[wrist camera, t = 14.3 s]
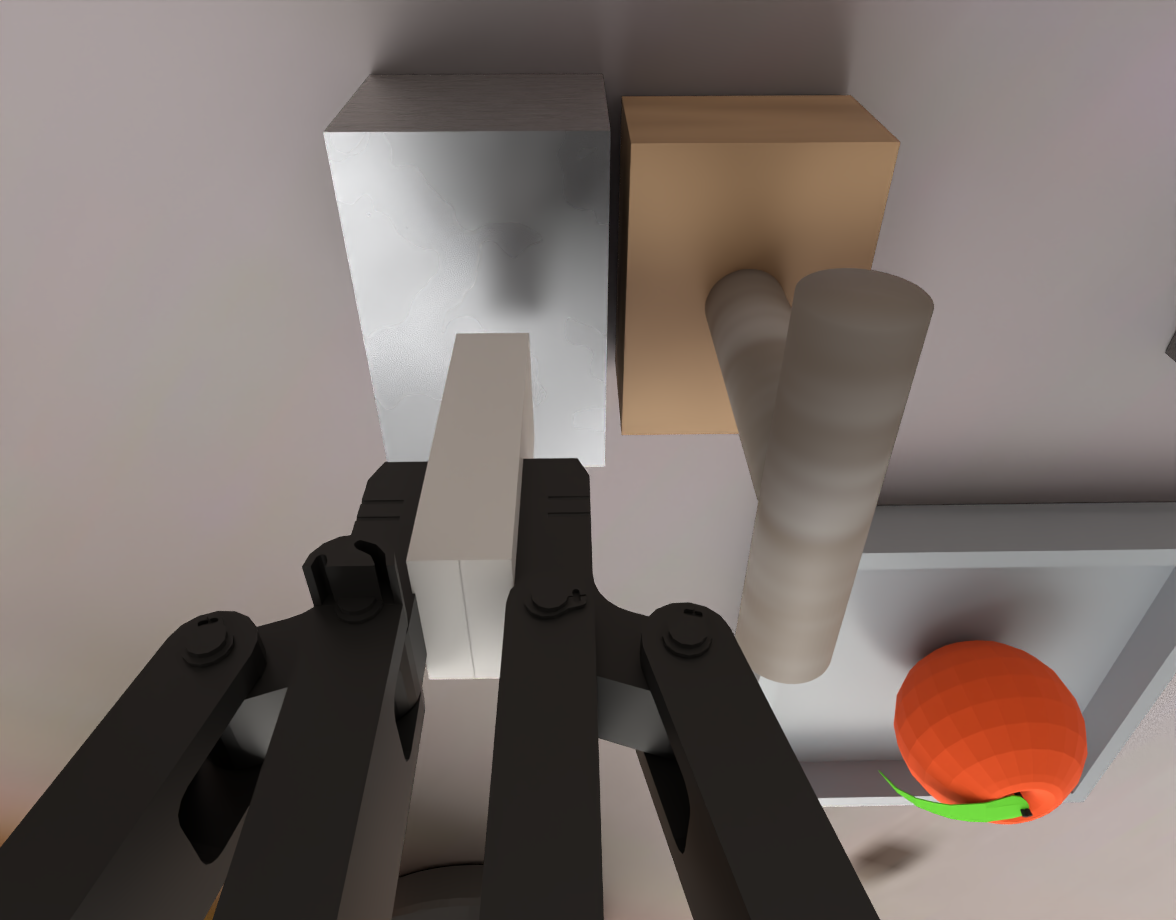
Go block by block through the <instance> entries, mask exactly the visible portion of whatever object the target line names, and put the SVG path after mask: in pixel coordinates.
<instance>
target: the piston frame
mask: <svg viewBox="0 0 1176 920" xmlns="http://www.w3.org/2000/svg"><path fill="white" fill-rule="evenodd" d="M323 134H324V139H325V144H326V149H327V154H328V159H329V164H330V170H331V175H332V180H333V185H334V190H335V195H336V201H337V206H338V211H339V216H340V221H341V226H342V232H343V237H344V242H345V247H346V252H347V257H348V263H349V268H350V273H351V278H352V283H353V288H354V294H355V299H356V304H357V309H358V314H359V319H360V325H361V330H362V335H363V340H364V345H365V350H366V355H367V361H368V366H369V371H370V376H371V381H372V386H373V392H374V397H375V402H376V407H377V412H378V417H379V423H380V428H381V433H382V438H383V443H384V448H385V454H386V459H387V462H424V461H428V460H429V455H430V451H431V446H432V442H433V437H434V433H435V428H436V424H437V419H438V415H439V410H440V406H441V401H442V397H443V392H444V388H445V383H446V379H447V374H448V369H449V365H450V360H451V356H452V351H453V347H454V342H455V338H456V334H461V333H529V341H530V361H531V381H532V401H533V420H534V456H533V458H578V459H579V461H580V462H581V464H582V465H583V467H605V427H606V368H607V310H608V251H609V193H610V134H611V130H610V123H609V116H608V109H607V102H606V95H605V88H604V80H603V74H433V75H369V76H368V77H367V79H366V80H365V81H364V82H363V84H362V85H361V86H360V87H359V89H358V90H357V91H356V92H355V93H354V95H353V96H352V97H351V98H350V100H349V101H348V102H347V103H346V105H345V106H344V107H343V108H342V110H341V111H340V112H339V113H338V115H337V116H336V117H335V118H334V120H333V121H332V122H331V123H330V124H329V126H328V127H327V128H326V129H325V131H324V132H323ZM1165 353H1166V354H1167V355H1168V356H1169V357H1170V358H1172V359H1173V360H1174V361H1175V362H1176V333H1175V335H1174V337H1173V339H1172V341H1171V343H1170V345H1169V347H1168V349H1167V351H1166V352H1165Z"/></svg>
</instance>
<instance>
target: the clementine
mask: <svg viewBox="0 0 1176 920" xmlns="http://www.w3.org/2000/svg"><path fill="white" fill-rule="evenodd" d="M894 730H895V735H896V739H897V744H898V747H899V750H900V752H901V755H902V757H903V759H904V761H905V763H906V765H907V766H908V768H909V770H910V772H911V774H912V776H913V777H914V778H915V779H916V780H917V781H918V782H919V783H920V784H921V785H922V786H923V787H924V789H925V790H926V791H927V792H928V793H929V794H930V795H932V796H933V797H934V798H935V799H936V800H937V801H939V802H941V803H939V802H933V801H929V800H924V799H920V798H916V797H914V796H912V795H910V794H908V793H906V792H904V791H902V790H900V789H898V788H897V787H896V786H895V785H894V784H893V783H892V782H891V781H890V780H889V779H888V778H887V777H886V776H885V775H884V774H883V773H882V772H881V771H880V770H878V771H879V772H880V773H881V775H882V776H883V777H884V778H885V779H886V780H887V782H888V783H889V784H890V785H891V786H892V787H893V789H894V790H895V791H896V792H897V793H898V794H900V795H901V796H903V797H904V798H906V799H907V800H908V801H910V802H911V803H913V804H914V805H916V806H917V807H920V808H922V809H925V810H927V811H930V812H932V813H935V814H938V815H941V816H944V817H947V818H950V819H956V820H962V821H969V822H990V823H996V824H1017V823H1023V822H1027V821H1032V820H1034V819H1037V818H1040V817H1042V816H1044V815H1046V814H1048V813H1050V812H1051V811H1053V810H1054V809H1055V808H1057V807H1058V806H1059V805H1060V804H1061V803H1062V802H1063V801H1064V800H1065V799H1066V797H1067V796H1068V795H1069V794H1070V793H1071V791H1072V790H1073V789H1074V788H1075V787H1076V785H1077V784H1078V783H1079V780H1080V777H1081V775H1082V771H1083V768H1084V765H1085V761H1086V758H1087V754H1088V753H1087V738H1086V728H1085V721H1084V718H1083V716H1082V713H1081V711H1080V708H1079V706H1078V703H1077V701H1076V699H1075V697H1074V696H1073V695H1072V693H1071V692H1070V691H1069V690H1068V688H1067V687H1066V686H1065V684H1064V683H1063V682H1062V681H1061V679H1060V678H1059V677H1058V676H1057V674H1056V673H1055V672H1054V671H1053V670H1052V669H1051V668H1049V667H1048V666H1047V665H1045V664H1044V663H1042V662H1041V661H1040V660H1038V659H1037V658H1036V657H1034V656H1032V655H1030V654H1029V653H1027V652H1025V651H1023V650H1021V649H1018V648H1015V647H1012V646H1009V645H1006V644H1003V643H999V642H995V641H984V640H973V641H963V642H956V643H952V644H949V645H945V646H943V647H941V648H939V649H936V650H935V651H933V652H932V653H930V654H929V655H927V656H926V657H924V658H923V659H921V660H920V661H918V662H917V663H916V664H915V665H914V666H913V668H912V669H911V670H910V671H909V672H908V674H907V676H906V678H905V680H904V682H903V684H902V686H901V688H900V690H899V692H898V694H897V698H896V707H895V716H894Z"/></svg>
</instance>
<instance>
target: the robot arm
mask: <svg viewBox="0 0 1176 920" xmlns="http://www.w3.org/2000/svg"><path fill="white" fill-rule="evenodd" d="M533 456H534V420H533V401H532V381H531V361H530V341H529V333H461V334H456V338H455V342H454V347H453V351H452V356H451V360H450V365H449V369H448V374H447V379H446V383H445V388H444V392H443V397H442V401H441V406H440V410H439V415H438V419H437V424H436V428H435V433H434V437H433V442H432V446H431V451H430V455H429V460H428V461H424V462H384V464H383V465H382V466H381V467H380V468H379V469H378V470H377V471H376V472H375V473H374V474H373V475H372V476H371V477H370V479H369V480H368V482H367V485H366V488H365V492H364V495H363V498H362V504H361V505H360V508H359V511H358V514H357V521H355V524H354V528H353V531H352V534H351V535H349V536H342V537H338V538H336V539H333V540H331V541H329V542H326V543H324V544H322V545H321V546H320V547H318V548H317V549H316V550H315V551H313V552H312V553H311V554H310V555H309V556H308V558H307V560H306V561H305V563H304V564H303V566H302V568H303V572H304V575H305V578H306V581H307V585H308V588H309V591H310V594H311V598H312V601H313V604H314V607H313V608H312V609H310V610H308V611H306V612H304V613H303V614H300V615H297V616H294V617H291V618H289V619H285V620H281V621H277V622H274V623H270V624H266V625H262V626H259V627H256V626H255V624H254V623H253V622H252V621H251V619H250V618H249V617H248V616H245V615H243V614H240V613H238V612H235V611H216V612H212V613H208V614H205V615H201V616H198V617H196V618H194V619H192V620H191V621H189V622H187V623H185V624H183V625H181V626H180V627H179V628H178V629H177V630H176V631H175V632H174V633H173V634H172V635H171V636H170V637H168V638H167V640H166V641H165V642H164V643H163V645H162V646H161V647H160V649H159V650H158V651H157V652H156V654H155V655H154V656H153V657H152V659H151V660H150V661H149V662H148V664H147V665H146V666H145V667H144V669H143V670H142V671H141V672H140V674H139V675H138V676H137V677H136V679H135V680H134V681H133V682H132V684H131V685H130V686H129V687H128V689H127V690H126V691H125V692H124V694H123V695H122V696H121V697H120V699H119V700H118V701H117V702H116V704H115V705H114V706H113V707H112V709H111V710H110V711H109V712H108V714H107V715H106V716H105V717H104V719H103V720H102V721H101V722H100V724H99V725H98V726H97V727H96V729H95V730H94V731H93V732H92V734H91V735H90V736H89V737H88V739H87V740H86V741H85V742H84V744H83V745H82V746H81V747H80V749H79V750H78V751H77V752H76V754H75V755H74V756H73V757H72V759H71V760H70V761H69V762H68V764H67V765H66V766H65V767H64V769H63V770H62V771H61V772H60V774H59V775H58V776H57V777H56V779H55V780H54V781H53V782H52V784H51V785H50V786H49V787H48V789H47V790H46V791H45V792H44V794H43V795H42V796H41V797H40V799H39V800H38V801H37V802H36V804H35V805H34V806H33V807H32V809H31V810H30V811H29V812H28V814H27V815H26V816H25V817H24V819H23V820H22V821H21V822H20V824H19V825H18V826H17V827H16V829H15V830H14V831H13V832H12V834H11V835H10V836H9V837H8V839H7V840H6V841H5V842H4V844H3V845H2V846H1V847H0V920H204V918H205V916H206V914H207V912H208V911H209V909H210V907H211V905H212V904H213V902H214V900H215V898H216V896H217V895H218V893H219V891H220V889H221V887H222V886H223V884H224V886H223V889H222V892H221V895H220V898H219V901H218V904H217V908H216V911H215V914H214V917H213V920H604V916H603V881H602V847H601V813H600V779H599V745H598V738H600V739H604V740H607V741H610V742H614V743H617V744H620V745H623V746H627V747H630V748H633V749H636V753H637V756H638V759H639V762H640V765H641V767H642V770H643V773H644V776H645V779H646V782H647V785H648V788H649V791H650V794H651V797H652V800H653V803H654V805H655V808H656V811H657V814H658V817H659V820H660V823H661V826H662V829H663V832H664V835H665V838H666V840H667V843H668V846H669V849H670V852H671V855H672V858H673V861H674V864H675V867H676V870H677V873H678V876H679V878H680V881H681V884H682V887H683V890H684V893H685V896H686V899H687V902H688V905H689V908H690V911H691V913H692V916H693V919H694V920H880V919H879V917H878V915H877V913H876V911H875V909H874V907H873V905H872V903H871V901H870V899H869V897H868V895H867V893H866V892H865V890H864V888H863V886H862V884H861V882H860V880H859V878H858V876H857V874H856V872H855V870H854V868H853V866H852V864H851V862H850V860H849V858H848V856H847V854H846V853H845V851H844V849H843V847H842V845H841V843H840V841H839V839H838V837H837V835H836V833H835V831H834V829H833V827H832V825H831V823H830V821H829V819H828V817H827V816H826V814H825V812H824V810H823V808H822V806H821V804H820V802H819V800H818V798H817V796H816V794H815V792H814V790H813V788H812V786H811V784H810V782H809V780H808V778H807V777H806V775H805V773H804V771H803V769H802V767H801V765H800V763H799V761H798V759H797V757H796V755H795V753H794V751H793V749H792V747H791V745H790V743H789V741H788V739H787V738H786V736H785V734H784V732H783V730H782V728H781V726H780V724H779V722H778V720H777V718H776V716H775V714H774V712H773V710H772V708H771V706H770V704H769V702H768V700H767V699H766V697H765V695H764V693H763V691H762V689H761V687H760V685H759V683H758V681H757V679H756V677H755V675H754V673H753V671H752V669H751V667H750V665H749V663H748V662H747V660H746V658H745V656H744V654H743V652H742V650H741V648H740V646H739V644H738V642H737V640H736V638H735V636H734V634H733V632H732V630H731V628H730V627H729V626H728V624H727V623H726V622H725V621H724V619H723V618H722V617H721V616H720V615H719V614H717V613H715V612H714V611H712V610H710V609H709V608H707V607H705V606H701V605H697V604H693V603H671V604H669V605H666V606H663V607H661V608H658V609H656V610H655V611H654V612H653V613H652V614H651V615H650V616H645V615H641V614H637V613H633V612H630V611H627V610H624V609H622V608H619V607H617V606H615V605H614V604H612V603H611V602H609V601H607V600H606V599H605V598H604V597H603V596H602V595H601V594H600V592H599V591H598V589H597V587H596V585H595V584H594V579H593V574H592V542H591V511H590V479H589V474H588V473H587V471H586V470H585V468H584V467H583V465H582V464H581V462H580V461H579V459H578V458H533ZM425 664H426V666H427V671H428V676H429V680H434V679H499V678H500V679H499V691H498V703H497V715H496V726H495V738H494V750H493V762H492V774H491V785H490V797H489V809H488V821H487V833H486V845H485V856H484V865H462V866H450V867H442V868H435V869H430V870H425V871H420V872H416V873H413V874H409V875H406V876H404V877H401V878H398V876H399V869H400V863H401V857H402V851H403V844H404V838H405V832H406V825H407V819H408V813H409V807H410V800H411V794H412V788H413V782H414V775H415V769H416V763H417V757H418V750H419V744H420V738H421V731H422V725H423V719H424V713H425V704H424V695H423V690H422V682H423V676H424V670H425ZM224 882H225V883H224Z"/></svg>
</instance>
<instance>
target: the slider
mask: <svg viewBox="0 0 1176 920" xmlns="http://www.w3.org/2000/svg"><path fill="white" fill-rule="evenodd" d="M899 146H900V141H899V140H898V139H897V138H896V137H895V136H893V135H892V134H891V133H890V132H889V131H888V130H887V129H886V128H885V127H884V126H883V125H882V124H881V123H880V122H879V121H878V120H876V119H875V118H874V117H873V116H872V115H871V114H870V113H869V112H868V111H867V110H866V109H865V108H864V107H863V106H862V105H861V104H860V103H858V102H857V101H856V100H855V99H854V98H853V97H852V96H851V95H812V96H622V108H621V149H620V189H619V230H618V270H617V311H616V351H615V364H616V376H617V387H618V398H619V410H620V421H621V432H622V435H660V434H739V436H740V440H741V443H742V447H743V450H744V454H745V457H746V461H747V464H748V468H749V471H750V475H751V479H752V482H753V486H754V489H755V493H756V496H757V499H758V506H757V512H756V518H755V524H754V530H753V535H752V541H751V547H750V553H749V559H748V564H747V570H746V576H745V582H744V588H743V593H742V599H741V605H740V611H739V617H738V623H737V628H736V634H735V638H736V640H737V642H738V644H739V646H740V648H741V650H742V652H743V654H744V656H745V658H746V660H747V662H748V663H749V665H750V667H751V669H752V670H753V671H754V672H755V673H757V674H759V675H760V676H762V677H764V678H766V679H769V680H772V681H775V682H778V683H784V684H801V683H806V682H809V681H812V680H814V679H816V678H818V677H819V676H821V675H822V674H823V673H824V672H825V671H826V670H827V668H828V667H829V665H830V662H831V659H832V656H833V652H834V649H835V645H836V642H837V639H838V635H839V632H840V628H841V625H842V621H843V618H844V615H845V611H846V608H847V604H848V601H849V597H850V594H851V591H852V587H853V584H854V580H855V577H856V573H857V570H858V567H859V563H860V560H861V556H862V553H863V550H864V546H865V543H866V539H867V536H868V532H869V529H870V526H871V522H872V519H873V515H874V512H875V508H876V505H877V502H878V498H879V495H880V491H881V488H882V484H883V481H884V478H885V474H886V471H887V467H888V464H889V460H890V457H891V454H892V450H893V447H894V443H895V440H896V437H897V433H898V430H899V426H900V423H901V419H902V416H903V413H904V409H905V406H906V402H907V399H908V395H909V392H910V389H911V385H912V382H913V378H914V375H915V371H916V368H917V365H918V361H919V358H920V354H921V351H922V348H923V344H924V341H925V337H926V334H927V330H928V327H929V324H930V320H931V317H932V313H933V310H934V304H933V301H932V299H931V297H930V296H929V295H928V294H927V293H926V292H925V291H924V290H923V289H922V288H920V287H919V286H917V285H915V284H914V283H912V282H910V281H907V280H905V279H903V278H900V277H897V276H894V275H891V274H888V273H883V272H879V271H874V270H871V267H872V262H873V258H874V254H875V249H876V245H877V241H878V236H879V232H880V228H881V223H882V219H883V215H884V210H885V206H886V202H887V198H888V193H889V189H890V185H891V180H892V176H893V172H894V167H895V163H896V159H897V154H898V150H899Z"/></svg>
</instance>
